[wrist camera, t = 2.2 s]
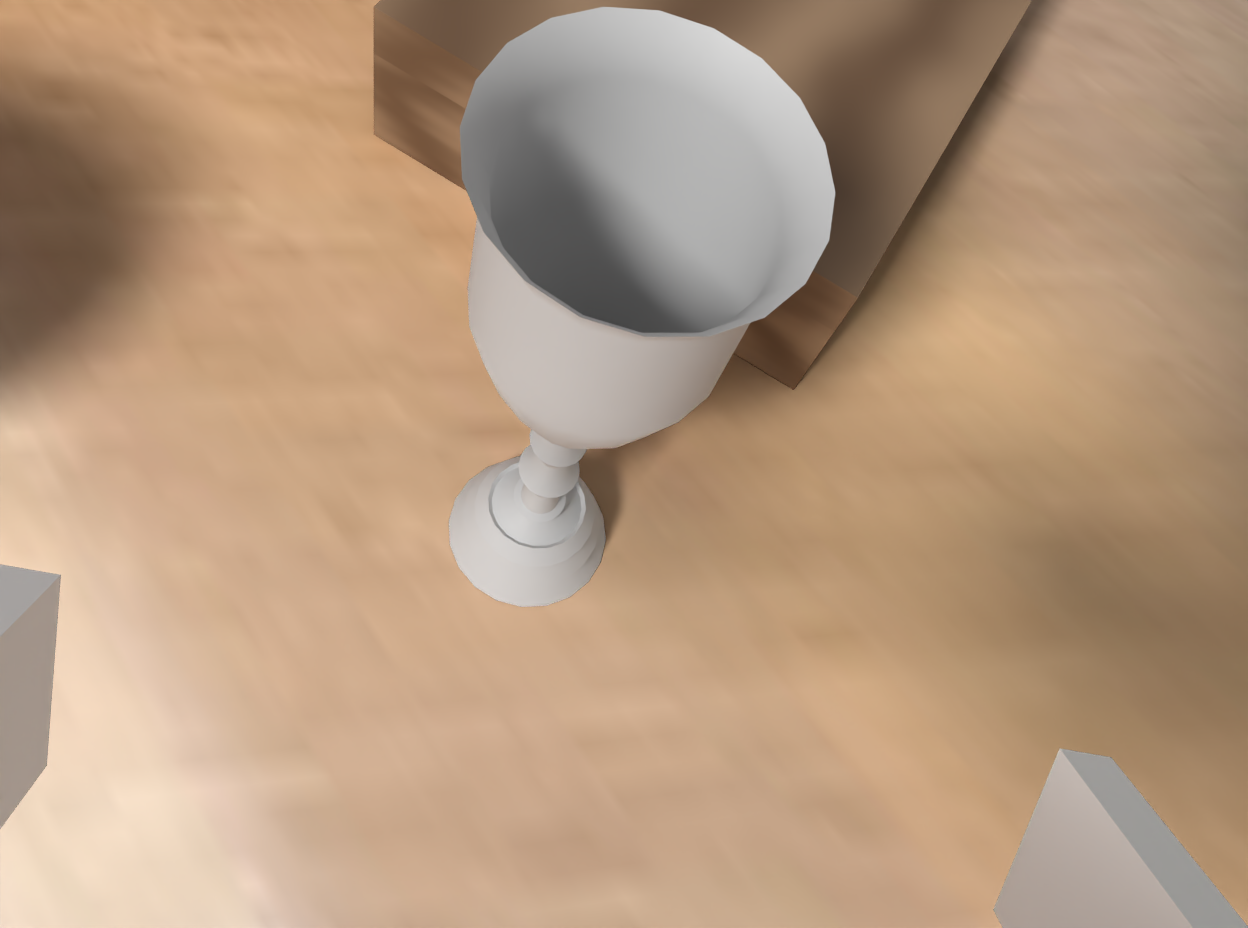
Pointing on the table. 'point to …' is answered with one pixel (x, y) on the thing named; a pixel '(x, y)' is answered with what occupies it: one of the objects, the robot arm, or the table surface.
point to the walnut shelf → (800, 55)
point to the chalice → (618, 259)
